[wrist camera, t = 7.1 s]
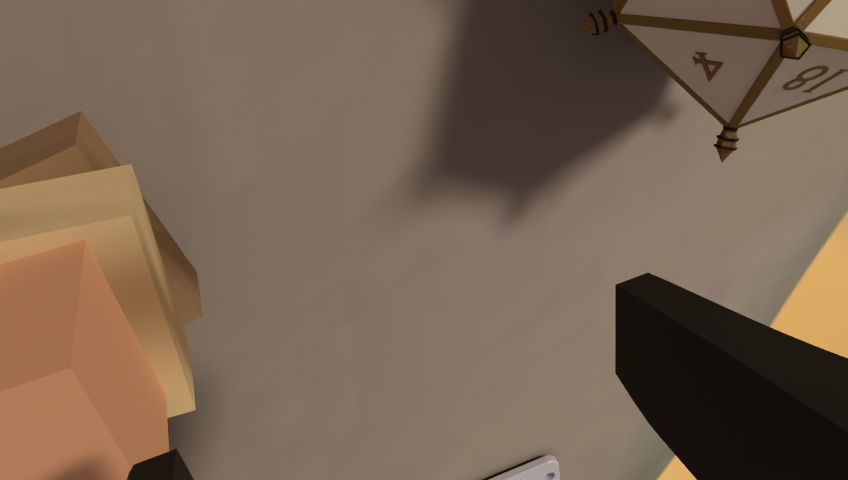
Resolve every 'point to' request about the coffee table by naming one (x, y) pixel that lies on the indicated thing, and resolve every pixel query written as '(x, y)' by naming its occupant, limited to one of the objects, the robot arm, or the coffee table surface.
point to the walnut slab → (85, 152)
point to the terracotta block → (72, 374)
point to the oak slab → (108, 259)
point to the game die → (740, 52)
